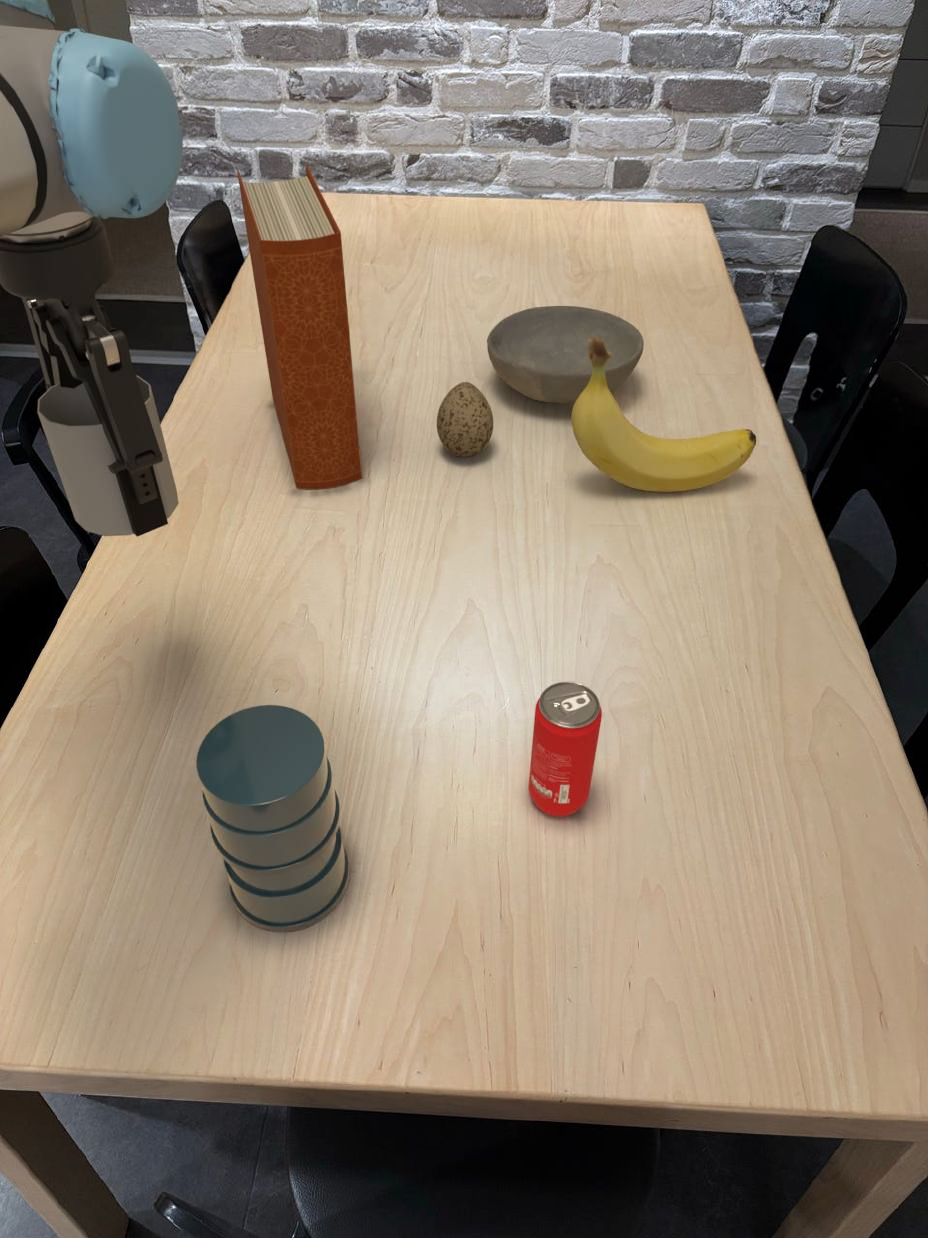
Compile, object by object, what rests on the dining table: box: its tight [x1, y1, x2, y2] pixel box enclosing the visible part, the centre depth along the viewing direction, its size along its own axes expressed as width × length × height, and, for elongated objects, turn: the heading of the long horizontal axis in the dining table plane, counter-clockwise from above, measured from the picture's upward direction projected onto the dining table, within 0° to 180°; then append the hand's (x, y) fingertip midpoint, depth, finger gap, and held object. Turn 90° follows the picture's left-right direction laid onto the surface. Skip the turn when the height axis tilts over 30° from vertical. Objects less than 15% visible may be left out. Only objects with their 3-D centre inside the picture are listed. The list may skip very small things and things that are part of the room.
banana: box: [571, 337, 757, 493], centre depth 105 cm, size 23×6×20 cm, turn 96°
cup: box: [36, 375, 179, 537], centre depth 73 cm, size 8×8×10 cm
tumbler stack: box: [195, 704, 350, 933], centre depth 67 cm, size 9×9×16 cm
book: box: [236, 164, 363, 490], centre depth 109 cm, size 23×8×30 cm, turn 16°
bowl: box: [486, 305, 645, 404], centre depth 127 cm, size 21×21×8 cm
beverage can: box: [528, 681, 603, 818], centre depth 75 cm, size 5×5×12 cm
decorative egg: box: [436, 381, 494, 458], centre depth 114 cm, size 7×7×10 cm
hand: (125, 502), depth 76 cm, fingers closed on cup, 8 cm apart
